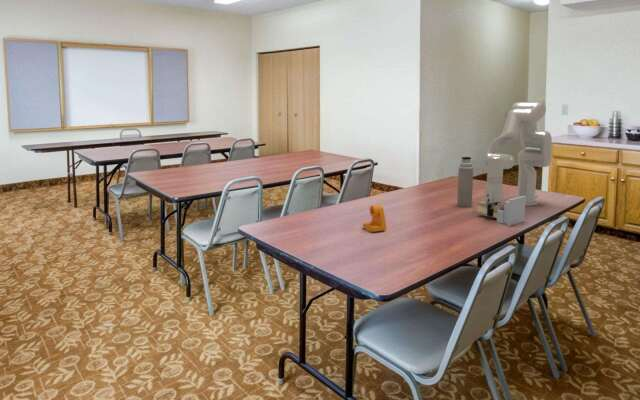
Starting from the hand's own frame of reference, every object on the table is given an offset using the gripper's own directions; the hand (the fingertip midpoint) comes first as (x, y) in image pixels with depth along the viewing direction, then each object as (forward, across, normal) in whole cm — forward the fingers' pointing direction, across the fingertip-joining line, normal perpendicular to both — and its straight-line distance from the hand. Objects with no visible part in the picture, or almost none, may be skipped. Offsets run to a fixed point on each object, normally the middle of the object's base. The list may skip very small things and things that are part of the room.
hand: (492, 214), depth 257 cm
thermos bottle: (+2, -13, -27) cm, 30 cm away
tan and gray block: (0, 0, 0) cm, 0 cm away
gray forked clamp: (+2, 0, +9) cm, 9 cm away
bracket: (+2, +60, -25) cm, 65 cm away
